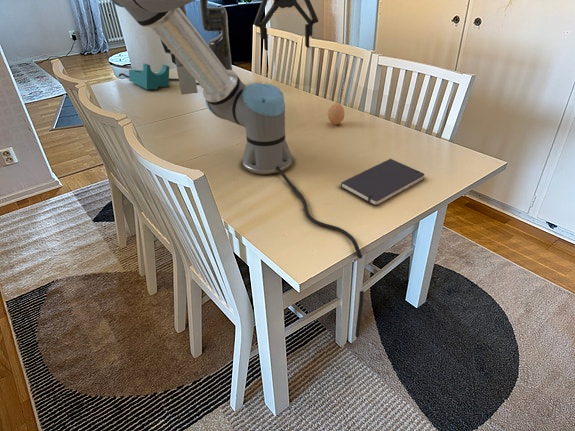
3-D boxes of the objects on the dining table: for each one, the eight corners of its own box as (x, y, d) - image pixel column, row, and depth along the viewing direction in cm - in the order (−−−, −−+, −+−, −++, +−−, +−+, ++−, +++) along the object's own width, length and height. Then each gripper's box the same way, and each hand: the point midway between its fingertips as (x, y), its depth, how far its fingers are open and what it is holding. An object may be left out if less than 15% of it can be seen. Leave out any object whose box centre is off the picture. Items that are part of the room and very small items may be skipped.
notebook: (389, 163, 124) (340, 187, 113) (390, 158, 123) (341, 182, 112) (424, 178, 116) (375, 206, 105) (425, 174, 115) (376, 201, 104)
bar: (197, 92, 138) (193, 65, 133) (181, 94, 137) (176, 67, 132) (192, 72, 158) (188, 48, 153) (178, 74, 157) (173, 49, 152)
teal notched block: (168, 89, 190) (169, 66, 185) (146, 89, 182) (147, 65, 178) (150, 81, 201) (150, 59, 196) (129, 80, 193) (129, 57, 189)
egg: (332, 128, 146) (333, 107, 141) (324, 122, 150) (325, 101, 146) (346, 125, 148) (348, 104, 143) (338, 119, 152) (339, 99, 148)
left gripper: (195, 10, 147) (201, 58, 157) (154, 13, 144) (164, 62, 154) (196, 14, 141) (203, 64, 151) (154, 17, 138) (164, 67, 148)
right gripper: (322, -31, 124) (321, 42, 136) (241, -27, 120) (247, 48, 133) (329, -29, 118) (326, 48, 130) (244, -25, 114) (250, 53, 127)
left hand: (183, 63), depth 152 cm, fingers closed on bar, 5 cm apart
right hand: (286, 48), depth 132 cm, fingers open, 13 cm apart
